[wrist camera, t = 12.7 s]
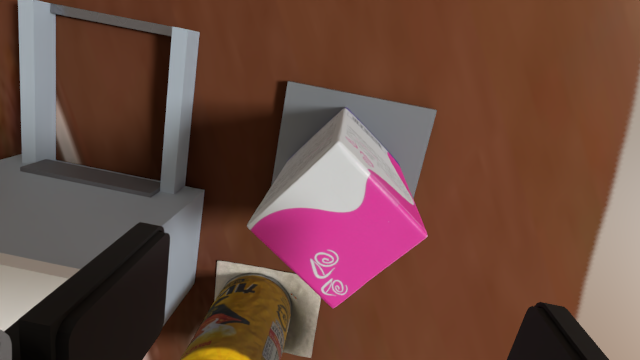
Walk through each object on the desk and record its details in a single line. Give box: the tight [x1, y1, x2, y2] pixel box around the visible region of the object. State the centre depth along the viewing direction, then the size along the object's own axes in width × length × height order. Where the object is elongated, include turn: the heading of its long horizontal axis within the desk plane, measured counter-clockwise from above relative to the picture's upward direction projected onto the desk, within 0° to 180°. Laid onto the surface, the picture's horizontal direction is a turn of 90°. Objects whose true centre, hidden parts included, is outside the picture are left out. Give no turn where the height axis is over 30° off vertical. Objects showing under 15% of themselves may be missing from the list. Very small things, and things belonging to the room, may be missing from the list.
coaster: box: [271, 81, 437, 198], centre depth 28 cm, size 10×10×1 cm
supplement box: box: [247, 107, 427, 308], centre depth 22 cm, size 6×6×12 cm
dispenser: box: [0, 0, 205, 331], centre depth 23 cm, size 19×14×14 cm
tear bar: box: [51, 4, 172, 36], centre depth 27 cm, size 1×9×1 cm, turn 79°
